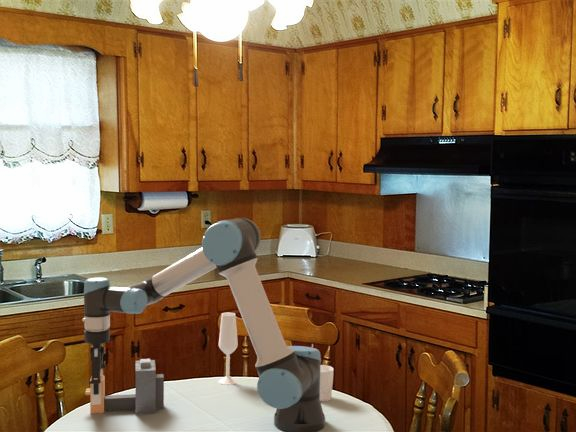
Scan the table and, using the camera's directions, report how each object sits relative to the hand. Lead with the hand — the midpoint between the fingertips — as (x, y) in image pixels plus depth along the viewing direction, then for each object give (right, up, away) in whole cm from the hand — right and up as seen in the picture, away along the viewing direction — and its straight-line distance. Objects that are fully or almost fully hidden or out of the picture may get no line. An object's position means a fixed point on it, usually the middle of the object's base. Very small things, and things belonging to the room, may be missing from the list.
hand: (97, 396), depth 223 cm
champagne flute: (+38, -3, +31) cm, 49 cm away
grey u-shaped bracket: (+14, -4, +3) cm, 15 cm away
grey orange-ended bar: (+8, -4, +2) cm, 9 cm away
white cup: (+69, -5, +15) cm, 71 cm away
